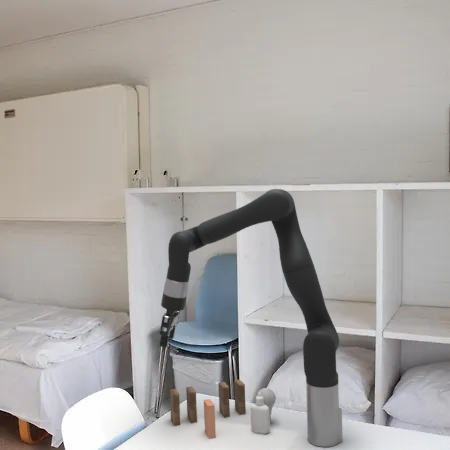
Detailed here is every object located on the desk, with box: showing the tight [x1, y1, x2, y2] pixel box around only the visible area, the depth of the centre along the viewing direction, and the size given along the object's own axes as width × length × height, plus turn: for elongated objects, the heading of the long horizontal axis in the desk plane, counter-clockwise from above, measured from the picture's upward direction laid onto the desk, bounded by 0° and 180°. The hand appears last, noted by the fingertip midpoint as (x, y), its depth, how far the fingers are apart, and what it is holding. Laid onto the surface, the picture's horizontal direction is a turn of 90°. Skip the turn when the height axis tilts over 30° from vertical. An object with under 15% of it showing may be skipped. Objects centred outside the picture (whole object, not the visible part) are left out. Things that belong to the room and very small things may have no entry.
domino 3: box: [203, 398, 216, 440], centre depth 161 cm, size 2×5×10 cm, turn 18°
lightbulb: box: [255, 387, 277, 421], centre depth 169 cm, size 6×6×11 cm
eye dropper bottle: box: [250, 392, 271, 435], centre depth 163 cm, size 4×6×12 cm
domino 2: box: [185, 385, 198, 424], centre depth 173 cm, size 2×5×10 cm, turn 18°
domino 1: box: [169, 388, 181, 427], centre depth 171 cm, size 2×5×10 cm, turn 18°
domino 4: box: [218, 381, 231, 419], centre depth 176 cm, size 2×5×10 cm, turn 18°
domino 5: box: [233, 379, 246, 416], centre depth 178 cm, size 2×5×10 cm, turn 18°
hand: (166, 342), depth 169 cm, fingers open, 8 cm apart
